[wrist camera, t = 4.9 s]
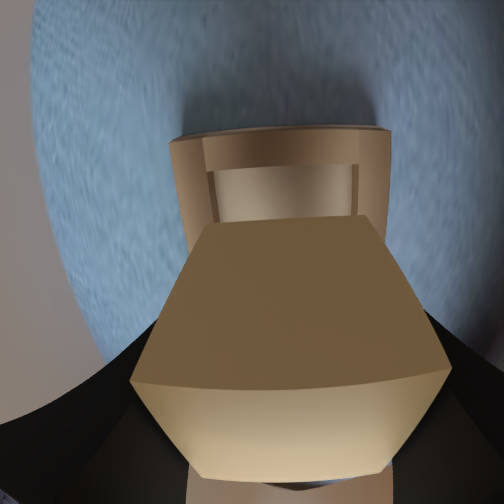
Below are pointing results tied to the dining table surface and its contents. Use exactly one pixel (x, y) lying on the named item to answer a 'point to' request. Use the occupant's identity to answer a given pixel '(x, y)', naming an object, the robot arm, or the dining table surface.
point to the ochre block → (290, 352)
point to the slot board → (282, 174)
